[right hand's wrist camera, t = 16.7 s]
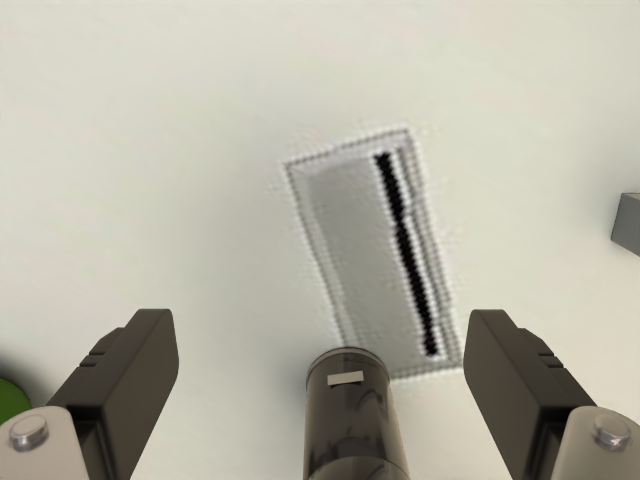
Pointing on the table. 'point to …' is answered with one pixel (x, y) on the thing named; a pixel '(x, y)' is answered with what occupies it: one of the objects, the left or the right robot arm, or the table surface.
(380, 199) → the table surface
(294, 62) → the table surface
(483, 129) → the table surface
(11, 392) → the vase
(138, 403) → the right robot arm
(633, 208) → the block
